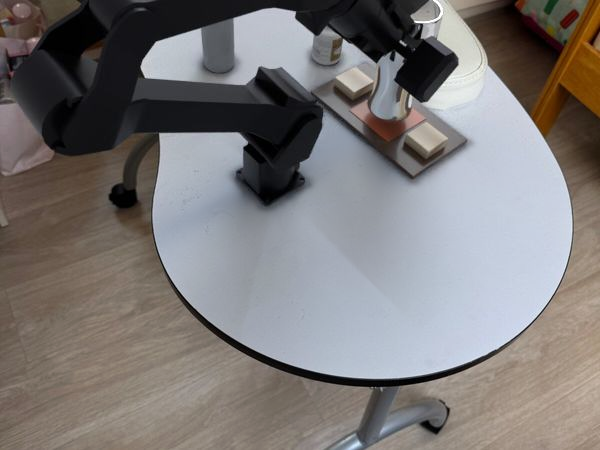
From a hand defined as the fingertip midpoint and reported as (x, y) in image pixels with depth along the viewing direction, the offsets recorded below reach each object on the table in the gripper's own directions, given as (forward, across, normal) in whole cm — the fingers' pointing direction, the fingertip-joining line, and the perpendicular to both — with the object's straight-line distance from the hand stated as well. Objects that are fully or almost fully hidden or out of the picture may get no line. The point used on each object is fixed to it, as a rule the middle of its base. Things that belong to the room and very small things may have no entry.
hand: (407, 60), depth 75 cm
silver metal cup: (+4, 0, +6) cm, 7 cm away
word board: (+6, 0, +7) cm, 9 cm away
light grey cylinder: (-3, +22, +17) cm, 28 cm away
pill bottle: (+7, +15, +7) cm, 18 cm away
